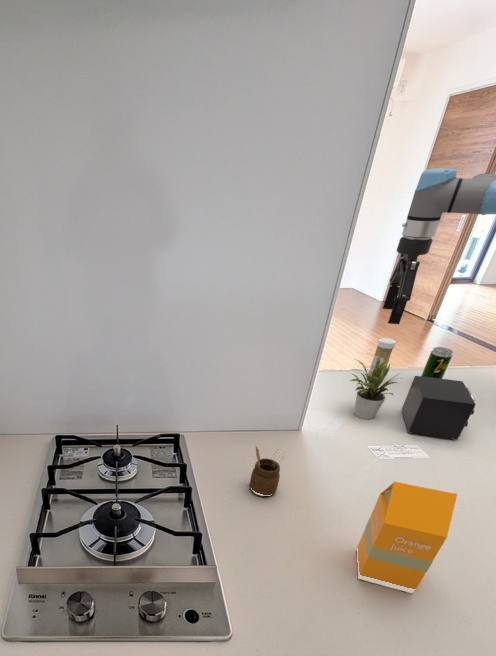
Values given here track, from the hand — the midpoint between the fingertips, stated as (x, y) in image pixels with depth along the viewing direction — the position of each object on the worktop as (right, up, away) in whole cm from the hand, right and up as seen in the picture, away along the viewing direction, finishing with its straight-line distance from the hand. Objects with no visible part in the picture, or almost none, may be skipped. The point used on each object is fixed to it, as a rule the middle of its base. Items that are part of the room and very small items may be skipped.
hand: (390, 315), depth 128 cm
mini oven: (+3, -33, -10) cm, 35 cm away
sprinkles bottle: (+2, -17, +12) cm, 21 cm away
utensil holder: (-48, -49, -30) cm, 75 cm away
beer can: (+16, -20, +7) cm, 27 cm away
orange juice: (-33, -62, -49) cm, 85 cm away
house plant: (-11, -29, -4) cm, 31 cm away
